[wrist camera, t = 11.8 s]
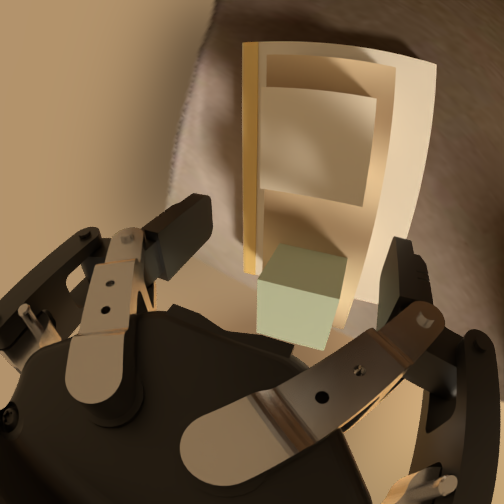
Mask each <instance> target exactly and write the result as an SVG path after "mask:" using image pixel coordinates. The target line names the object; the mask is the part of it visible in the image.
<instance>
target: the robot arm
mask: <svg viewBox="0 0 504 504" xmlns="http://www.w3.org/2000/svg"><path fill="white" fill-rule="evenodd" d="M212 230H213V221H212V205H211V198H210V197H209V196H208V195H202V194H196V193H193V194H191V195H190V196H188V197H187V198H186V199H184V200H183V201H181V202H180V203H177V204H175V205H172V206H171V207H169V208H168V209H167V210H165V212H163V213H161V214H160V215H159V216H158V217H156V218H154V219H153V220H152V221H150V222H149V223H148V224H146V225H145V226H144V227H142V228H141V229H139V228H135V227H132V228H126V229H123V230H120V231H118V232H117V233H116V234H114V236H113V237H112V238H101V234H100V231H99V229H98V228H96V227H88V228H85V229H82V230H80V231H78V232H77V233H75V234H74V235H73V236H72V237H70V238H69V239H68V240H67V241H65V242H64V243H63V244H62V245H60V246H59V247H58V248H57V249H56V250H54V251H53V252H52V253H51V254H49V255H48V256H47V257H46V258H45V259H44V260H42V262H40V263H39V264H38V265H37V266H36V267H35V268H33V269H32V270H31V271H30V272H29V273H28V274H27V275H26V276H24V277H23V279H21V280H20V281H19V282H18V283H17V284H16V285H15V286H14V287H13V288H12V289H11V290H10V291H9V292H8V293H7V294H6V295H5V296H4V297H3V298H2V299H1V300H0V354H1V355H2V356H3V357H4V358H5V359H6V360H7V362H8V363H9V364H10V365H11V366H13V367H14V368H15V369H16V370H17V371H18V372H19V373H20V374H21V375H20V379H19V382H18V384H17V387H16V389H15V392H14V394H13V396H12V398H11V400H10V402H9V403H8V405H7V406H6V407H5V408H3V409H2V410H0V504H372V500H371V496H370V494H369V492H368V489H367V487H366V485H365V482H364V480H363V478H362V476H361V473H360V471H359V469H358V466H357V464H356V461H355V459H354V457H353V455H352V453H351V450H350V448H349V445H348V443H347V441H346V439H345V436H344V433H345V432H347V431H348V430H349V429H351V428H352V427H353V426H354V425H356V424H357V423H358V422H359V421H360V420H362V419H363V418H364V417H365V416H366V415H367V414H368V413H369V412H370V411H371V410H373V409H374V408H375V407H376V406H377V405H378V404H379V403H380V402H381V401H383V400H384V399H385V398H386V397H387V396H388V395H389V394H390V393H391V392H392V391H393V390H394V389H395V388H397V387H398V385H400V384H401V382H403V381H404V379H406V380H408V381H410V382H412V383H414V384H416V385H417V386H419V387H421V388H423V389H424V391H423V400H422V409H421V416H420V422H419V428H418V434H417V440H416V445H415V450H414V455H413V459H412V463H411V467H410V471H409V475H408V476H405V477H403V478H401V479H399V480H398V481H397V482H396V483H395V484H394V485H393V486H392V487H391V489H390V491H389V492H388V494H387V496H386V498H385V499H384V501H383V502H382V503H381V504H491V502H492V497H493V492H494V487H495V481H496V473H497V466H498V457H499V445H500V392H499V379H498V369H497V361H496V354H495V348H494V345H493V343H492V341H491V339H490V338H489V337H488V336H487V335H486V334H485V333H483V332H482V331H480V330H476V329H472V330H469V331H468V332H467V333H466V334H465V336H464V337H462V336H460V335H458V334H456V333H454V332H453V331H451V330H449V329H447V328H446V327H445V320H444V317H443V315H442V313H441V312H440V310H439V309H438V308H437V307H435V306H434V305H433V299H432V293H431V287H430V282H429V276H428V271H427V266H426V263H425V262H424V260H423V259H422V258H421V256H420V255H416V254H414V252H413V247H412V242H411V240H407V239H404V238H400V237H396V236H394V237H393V239H392V242H391V245H390V248H389V251H388V254H387V257H386V259H385V262H384V265H383V268H382V271H381V276H380V282H379V302H378V317H377V328H376V330H375V329H374V328H370V329H368V330H366V331H365V332H363V333H362V334H361V335H359V336H358V337H356V338H355V339H354V340H352V341H351V342H349V343H348V344H346V345H345V346H343V347H342V348H340V349H339V350H338V351H336V352H334V353H333V354H331V355H330V356H328V357H326V358H325V359H323V360H322V361H320V362H318V363H317V364H315V365H314V366H312V367H310V368H309V367H308V366H307V365H306V364H305V363H304V362H302V361H301V360H299V359H298V358H297V357H295V356H293V355H292V354H293V350H294V345H293V344H289V343H286V342H283V341H279V340H276V339H273V338H270V337H266V336H263V335H257V334H247V333H238V332H230V331H226V330H223V329H222V328H220V327H219V326H217V325H216V324H214V323H212V322H211V321H210V320H208V319H207V318H205V317H204V316H202V315H201V314H199V313H196V312H194V311H191V310H188V309H186V308H183V307H181V306H178V305H176V304H173V305H172V306H171V307H170V308H169V310H168V311H157V298H156V296H157V295H156V294H157V293H156V282H155V280H156V279H157V278H161V279H163V280H166V281H169V280H170V279H171V278H172V277H173V276H174V275H175V274H176V273H177V272H178V270H180V268H181V267H182V266H183V265H184V264H185V263H186V262H187V261H188V260H189V259H190V258H191V257H192V256H193V255H194V254H195V253H196V252H197V251H198V250H199V249H200V248H201V247H202V245H203V244H204V243H205V242H206V241H207V240H208V239H209V238H210V236H211V234H212ZM80 264H81V266H82V269H83V271H84V274H85V276H86V277H85V278H84V279H83V280H82V281H81V282H80V283H79V284H78V285H77V286H76V287H75V288H74V289H73V290H72V291H71V292H70V293H69V291H68V289H67V286H66V279H67V277H68V275H69V274H70V273H71V272H72V271H73V270H75V269H76V268H77V267H78V266H79V265H80ZM80 323H81V324H80ZM79 324H80V330H79V332H78V334H77V335H74V336H73V337H71V338H68V337H69V336H70V335H71V334H72V333H73V331H74V330H75V329H76V328H77V327H78V325H79ZM67 338H68V339H67Z"/></svg>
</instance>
